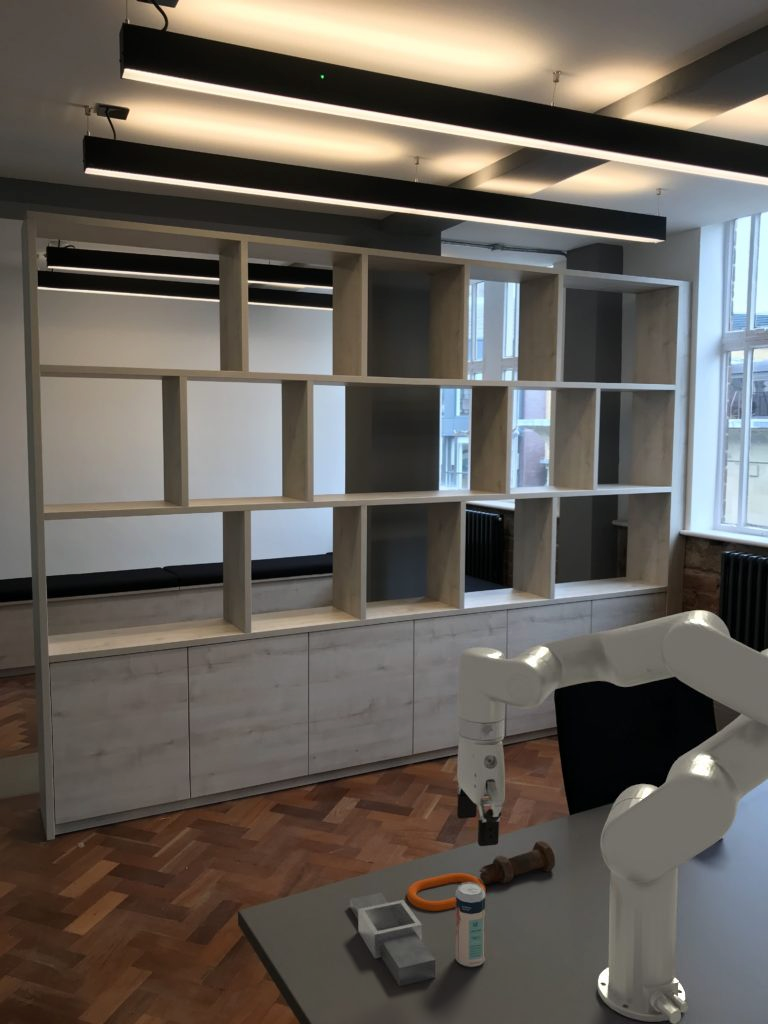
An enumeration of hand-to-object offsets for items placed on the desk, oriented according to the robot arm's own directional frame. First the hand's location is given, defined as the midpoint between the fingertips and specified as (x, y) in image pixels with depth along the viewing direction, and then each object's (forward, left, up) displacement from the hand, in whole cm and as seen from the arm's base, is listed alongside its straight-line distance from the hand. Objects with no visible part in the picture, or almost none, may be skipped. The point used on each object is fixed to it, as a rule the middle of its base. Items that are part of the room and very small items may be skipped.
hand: (476, 830), depth 138 cm
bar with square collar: (+9, +12, -21) cm, 25 cm away
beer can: (-1, +2, -21) cm, 21 cm away
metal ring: (+19, -3, -21) cm, 28 cm away
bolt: (+20, -18, -21) cm, 34 cm away
